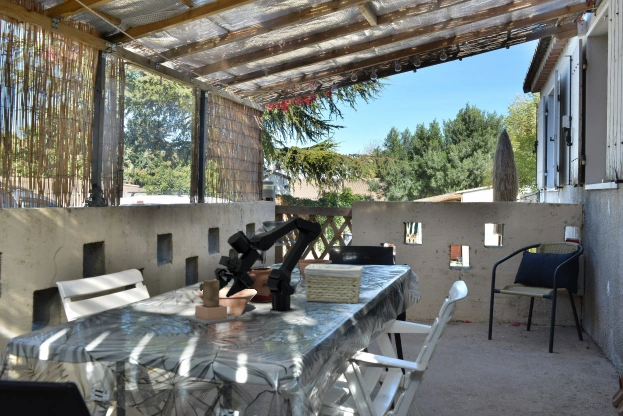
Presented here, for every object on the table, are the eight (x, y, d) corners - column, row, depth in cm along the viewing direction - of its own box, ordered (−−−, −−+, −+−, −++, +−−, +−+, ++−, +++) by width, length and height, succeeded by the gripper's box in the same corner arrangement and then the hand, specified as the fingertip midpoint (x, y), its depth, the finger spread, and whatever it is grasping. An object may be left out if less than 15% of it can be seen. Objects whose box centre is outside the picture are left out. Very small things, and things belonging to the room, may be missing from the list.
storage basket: (363, 298, 265) (363, 265, 265) (360, 304, 249) (360, 269, 249) (309, 296, 269) (309, 263, 268) (302, 302, 253) (303, 267, 252)
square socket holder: (217, 314, 222) (217, 301, 222) (236, 320, 212) (237, 306, 212) (185, 318, 213) (185, 305, 213) (204, 324, 203) (204, 310, 203)
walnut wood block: (212, 315, 215) (213, 279, 215) (218, 317, 212) (219, 280, 212) (203, 317, 213) (203, 280, 213) (209, 318, 210) (209, 281, 210)
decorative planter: (259, 306, 241) (259, 271, 241) (233, 303, 247) (234, 269, 246) (284, 299, 258) (284, 267, 258) (260, 297, 264) (260, 265, 264)
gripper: (218, 245, 225) (192, 277, 218) (247, 249, 211) (219, 283, 204) (236, 265, 230) (211, 297, 223) (265, 270, 216) (239, 304, 209)
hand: (219, 295), depth 215 cm, fingers open, 9 cm apart
